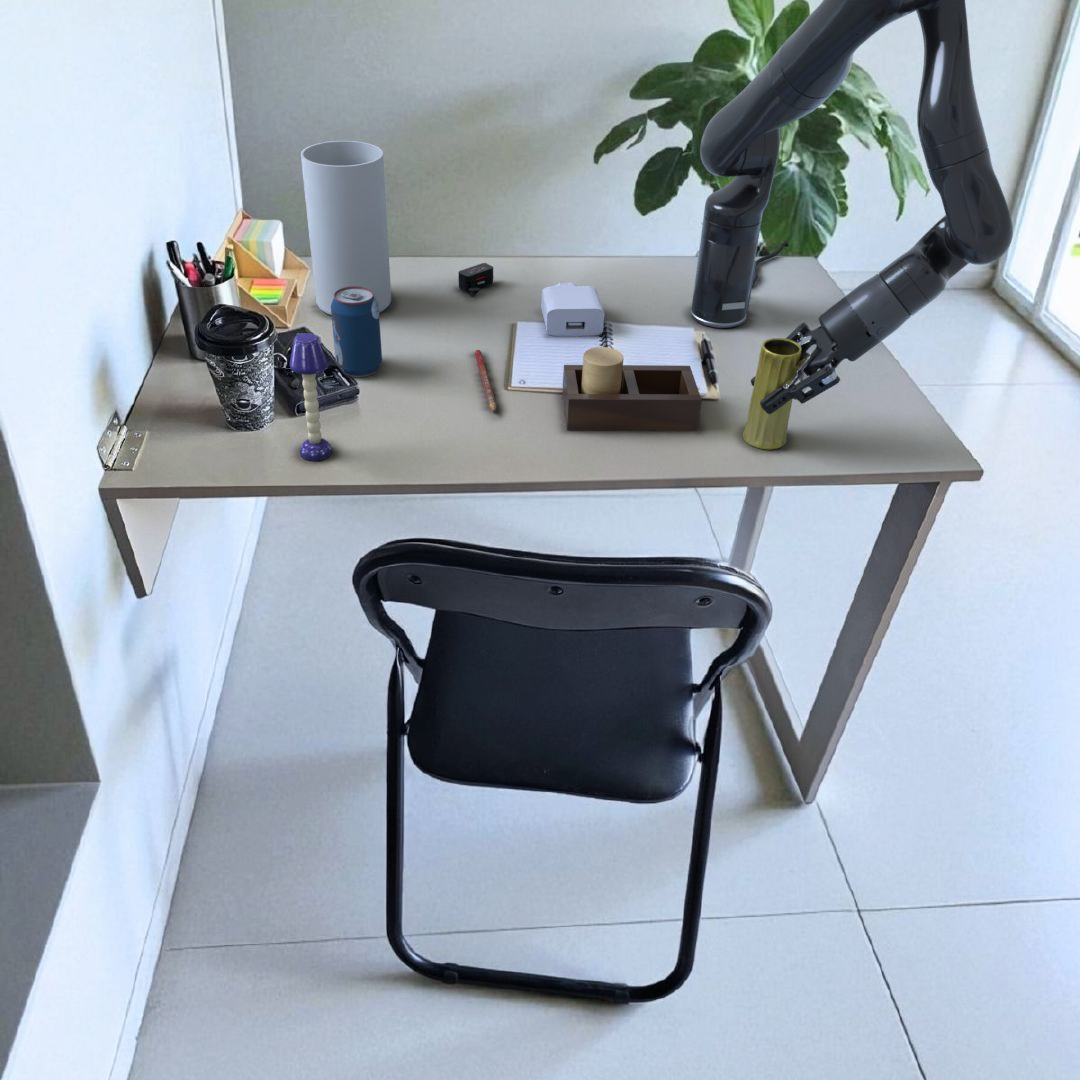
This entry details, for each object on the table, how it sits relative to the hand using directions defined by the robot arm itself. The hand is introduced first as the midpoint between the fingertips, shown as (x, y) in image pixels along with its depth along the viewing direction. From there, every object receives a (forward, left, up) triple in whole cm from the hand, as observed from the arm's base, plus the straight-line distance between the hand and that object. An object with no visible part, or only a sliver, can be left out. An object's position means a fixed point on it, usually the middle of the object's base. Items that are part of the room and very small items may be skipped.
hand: (759, 397), depth 142 cm
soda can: (+26, -54, -7) cm, 60 cm away
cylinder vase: (+12, -72, -7) cm, 73 cm away
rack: (+7, -17, -7) cm, 19 cm away
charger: (-11, -44, -7) cm, 46 cm away
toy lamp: (+45, -40, -7) cm, 60 cm away
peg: (+10, -20, -7) cm, 23 cm away
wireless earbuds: (-7, -62, -7) cm, 63 cm away
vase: (-1, +1, -7) cm, 7 cm away
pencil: (+16, -37, -7) cm, 41 cm away
